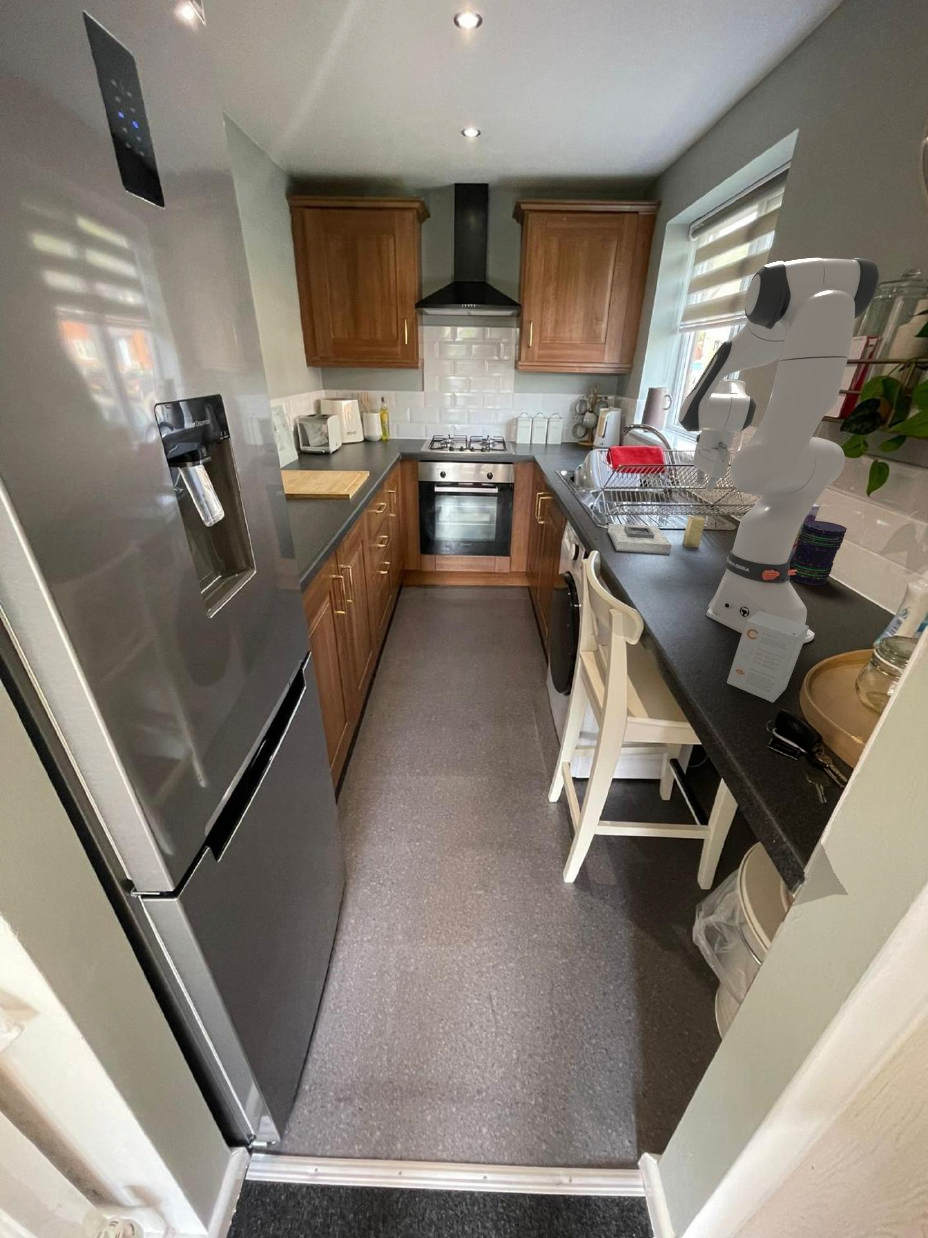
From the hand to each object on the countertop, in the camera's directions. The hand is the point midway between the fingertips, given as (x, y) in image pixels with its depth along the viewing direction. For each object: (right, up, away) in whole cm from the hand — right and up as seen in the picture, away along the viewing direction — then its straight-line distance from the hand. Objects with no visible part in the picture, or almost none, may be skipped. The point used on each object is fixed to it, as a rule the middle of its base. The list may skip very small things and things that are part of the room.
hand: (703, 487), depth 152 cm
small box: (-21, -53, -63) cm, 85 cm away
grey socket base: (-17, -16, +10) cm, 25 cm away
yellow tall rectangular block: (0, -17, +8) cm, 19 cm away
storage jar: (+21, -29, -15) cm, 39 cm away
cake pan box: (+17, -24, -4) cm, 29 cm away
